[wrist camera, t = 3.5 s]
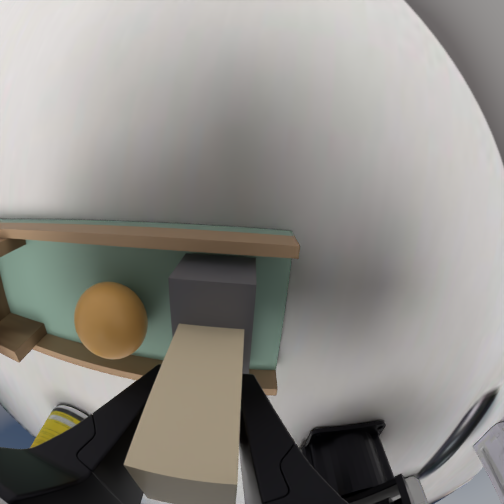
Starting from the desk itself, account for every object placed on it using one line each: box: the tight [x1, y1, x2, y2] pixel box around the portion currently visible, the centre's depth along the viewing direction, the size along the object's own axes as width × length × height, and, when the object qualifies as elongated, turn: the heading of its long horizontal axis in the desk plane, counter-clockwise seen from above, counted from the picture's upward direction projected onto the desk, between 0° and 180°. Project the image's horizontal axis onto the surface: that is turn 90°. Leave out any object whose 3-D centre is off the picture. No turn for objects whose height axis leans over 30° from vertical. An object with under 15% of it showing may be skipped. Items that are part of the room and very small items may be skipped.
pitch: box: [0, 219, 300, 395], centre depth 12 cm, size 20×8×2 cm, turn 86°
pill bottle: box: [30, 405, 88, 448], centre depth 13 cm, size 6×6×12 cm
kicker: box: [124, 253, 257, 504], centre depth 8 cm, size 3×6×9 cm, turn 176°
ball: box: [74, 282, 148, 359], centre depth 11 cm, size 4×4×4 cm
